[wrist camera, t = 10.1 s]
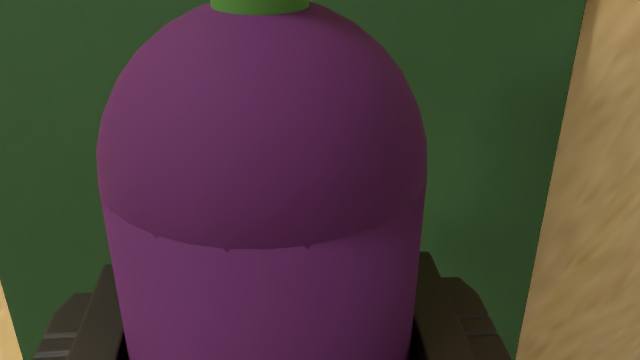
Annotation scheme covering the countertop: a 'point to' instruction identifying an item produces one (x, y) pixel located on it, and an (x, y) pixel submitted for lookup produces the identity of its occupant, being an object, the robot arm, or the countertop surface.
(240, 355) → the eggplant
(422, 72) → the cloth
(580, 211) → the countertop surface
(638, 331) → the countertop surface
